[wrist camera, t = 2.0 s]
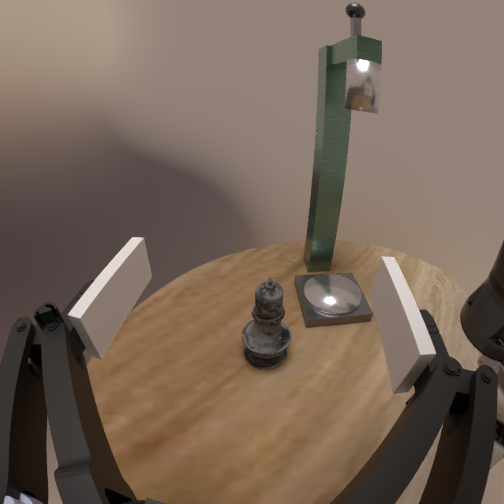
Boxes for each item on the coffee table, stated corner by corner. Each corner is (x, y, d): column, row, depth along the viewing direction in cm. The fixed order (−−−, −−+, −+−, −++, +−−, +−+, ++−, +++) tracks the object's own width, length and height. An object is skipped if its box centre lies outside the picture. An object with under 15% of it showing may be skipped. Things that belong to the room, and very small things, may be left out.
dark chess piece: (234, 344, 35) (230, 269, 29) (274, 330, 37) (280, 256, 31) (254, 378, 31) (256, 305, 24) (297, 360, 33) (311, 286, 26)
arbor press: (338, 257, 52) (360, 9, 28) (370, 320, 38) (419, -18, 13) (287, 259, 52) (298, -3, 27) (306, 327, 38) (333, -47, 13)
